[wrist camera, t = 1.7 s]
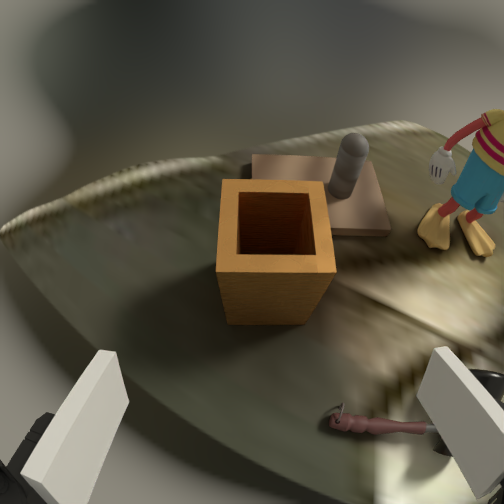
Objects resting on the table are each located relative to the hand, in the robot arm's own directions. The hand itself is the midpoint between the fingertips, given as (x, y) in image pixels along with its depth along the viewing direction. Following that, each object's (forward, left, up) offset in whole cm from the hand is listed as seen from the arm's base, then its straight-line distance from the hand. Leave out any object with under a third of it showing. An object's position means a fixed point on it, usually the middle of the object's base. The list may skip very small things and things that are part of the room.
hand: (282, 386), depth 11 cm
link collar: (0, -11, -17) cm, 20 cm away
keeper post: (-7, -23, -17) cm, 29 cm away
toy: (-26, -20, -17) cm, 37 cm away
